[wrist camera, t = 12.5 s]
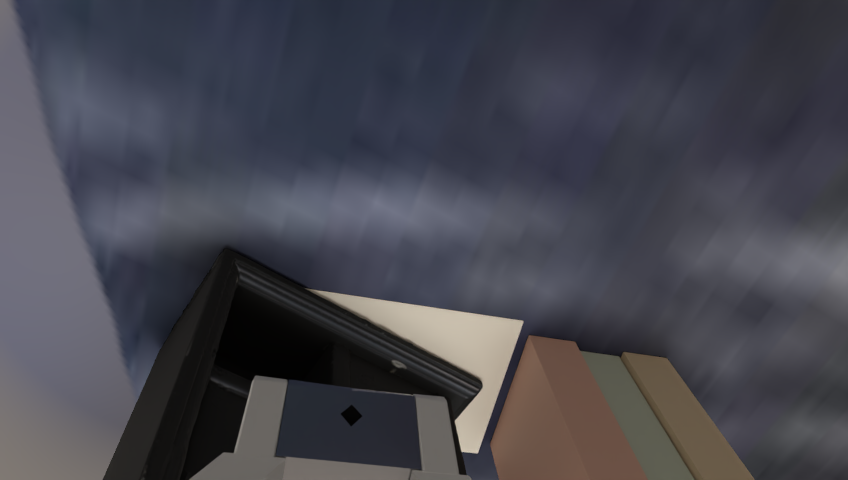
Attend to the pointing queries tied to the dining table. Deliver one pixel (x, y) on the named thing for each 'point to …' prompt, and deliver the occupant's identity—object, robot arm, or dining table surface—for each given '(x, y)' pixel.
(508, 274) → the dining table surface
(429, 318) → the cream mat
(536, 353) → the book row
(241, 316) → the black drawer cabinet
